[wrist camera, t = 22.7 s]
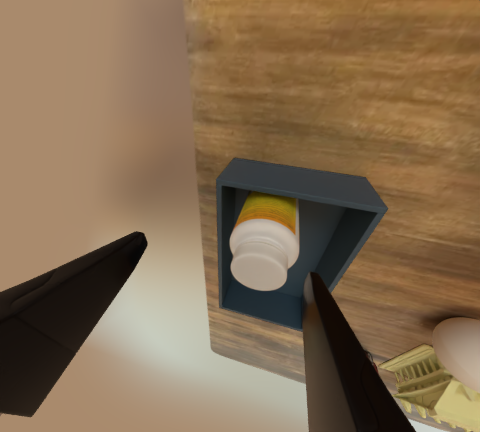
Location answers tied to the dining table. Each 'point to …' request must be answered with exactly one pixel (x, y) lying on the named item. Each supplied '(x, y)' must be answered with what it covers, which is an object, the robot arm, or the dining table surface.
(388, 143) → the dining table surface
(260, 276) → the supplement bottle
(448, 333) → the ball
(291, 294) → the storage tote
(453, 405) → the model building
